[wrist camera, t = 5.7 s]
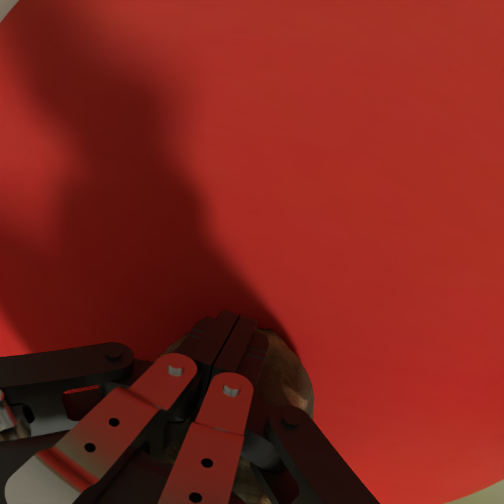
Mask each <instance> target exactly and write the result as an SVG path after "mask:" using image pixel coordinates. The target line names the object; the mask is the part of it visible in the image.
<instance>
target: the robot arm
mask: <svg viewBox="0 0 504 504" xmlns="http://www.w3.org/2000/svg"><path fill="white" fill-rule="evenodd" d="M257 324H258V320H255V319H252V318H249V317H246V316H242V315H241V317H240V315H239V314H236V313H233V312H230V311H226V310H222V312H221V313H220V315H219V316H218V318H217V319H213V318H210V317H206V318H204V319H202V320H200V321H198V322H197V323H196V325H195V326H194V327H193V329H192V330H191V331H190V333H189V335H187V336H186V338H185V339H184V340H183V342H182V343H181V344H180V345H179V347H178V348H177V349H176V351H175V352H174V353H169V354H165V355H163V356H161V357H160V358H158V359H157V361H156V362H149V361H143V360H138V359H134V356H133V352H132V351H131V349H130V348H129V347H127V346H125V345H123V344H121V343H115V342H110V343H103V344H97V345H91V346H84V347H78V348H71V349H64V350H57V351H49V352H41V353H33V354H25V355H16V356H7V357H0V504H246V503H245V502H244V501H243V500H242V499H241V498H240V497H239V496H238V495H237V494H235V493H234V492H232V491H231V490H232V486H233V482H234V478H235V474H236V470H237V466H238V462H239V458H240V456H242V457H244V458H245V459H247V460H248V461H250V463H249V464H250V467H251V469H252V471H253V473H254V475H255V476H256V478H257V480H258V482H259V483H260V485H261V487H262V489H263V490H264V492H265V494H266V495H267V497H268V499H269V500H270V502H271V504H380V503H379V502H378V501H377V500H376V498H375V497H374V496H373V495H372V494H371V492H370V491H369V490H368V489H367V488H366V486H365V485H364V484H363V483H362V482H361V480H360V479H359V478H358V477H357V476H356V474H355V473H354V472H353V471H352V469H351V468H350V467H349V466H348V465H347V463H346V462H345V461H344V460H343V458H342V457H341V456H340V455H339V453H338V452H337V451H336V450H335V448H334V447H333V446H332V444H331V443H330V442H329V441H328V439H327V438H326V437H325V435H324V434H323V433H322V432H321V430H320V429H319V428H318V426H317V425H316V424H315V423H314V421H313V420H312V419H311V417H310V416H309V415H308V414H307V413H306V412H305V411H304V410H302V409H300V408H298V407H296V406H292V405H281V406H278V407H276V408H274V407H272V406H270V405H268V404H267V403H265V402H264V401H263V400H262V399H261V398H260V397H259V395H258V394H257V391H256V384H257V381H258V378H259V375H260V372H261V369H262V366H263V363H264V360H265V357H266V353H267V350H268V347H269V341H268V338H267V335H264V334H260V333H257V332H256V328H257ZM93 385H98V387H99V388H98V389H92V390H87V391H82V392H76V393H70V394H64V392H65V391H67V390H71V389H76V388H82V387H87V386H93ZM195 407H196V408H199V409H200V411H199V413H198V416H197V418H196V420H195V421H193V422H192V423H191V425H190V428H189V430H188V432H187V435H186V437H185V440H184V442H183V444H182V447H181V449H180V452H179V454H178V456H177V459H176V461H175V464H171V463H166V462H163V461H164V459H165V457H166V455H167V453H168V452H169V451H170V449H171V448H172V446H173V445H174V443H175V442H176V440H177V439H178V438H179V436H180V435H181V433H182V432H183V430H184V429H185V427H186V426H187V424H188V423H189V420H190V416H191V415H192V413H193V411H194V409H195Z"/></svg>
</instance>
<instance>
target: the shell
mask: <svg viewBox="0 0 504 504" xmlns="http://www.w3.org/2000/svg"><path fill="white" fill-rule="evenodd" d="M256 332H257V333H260V334H264V335H267V338H268V341H269V347H268V350H267V353H266V357H265V360H264V363H263V366H262V369H261V372H260V375H259V378H258V381H257V384H256V391H257V394H258V395H259V397H260V398H261V399H262V400H263V401H264V402H265V403H267V404H268V405H270V406H272V407H274V408H276V407H278V406H281V405H292V406H296V407H298V408H300V409H302V410H304V411H305V412H306V413H307V414H308V415H309V416H310V417H311V419H312V420H313V405H314V394H313V388H312V384H311V381H310V378H309V376H308V374H307V372H306V370H305V368H304V367H303V365H302V363H301V361H300V359H299V357H298V356H297V355H296V354H295V353H294V352H293V351H291V350H290V349H289V347H288V346H287V345H286V343H285V342H284V341H283V339H282V338H281V337H280V336H279V335H278V334H276V333H275V332H274V331H272V330H270V329H267V330H264V329H258V328H256ZM189 333H190V332H189ZM189 333H187V334H186V335H184V336H183V337H182V338H181V339H179V340H178V341H176V342H174V343H173V344H172V345H171V346H169V347H168V348H167V350H166V351H165V352H163V354H162V355H161V356H163V355H165V354H169V353H174V352H175V351H176V349H177V348H178V347H179V345H180V344H181V343H182V342H183V340H184V339H185V338H186V336H187V335H189ZM161 356H160V357H161ZM160 357H158V358H160ZM158 358H157V359H158ZM157 359H156V360H155V361H154V362H156V361H157ZM199 411H200V409H199V408H196V407H195V409H194V411H193V413H192V415H191V416H190V420H189V423H188V424H187V426H186V427H185V429H184V430H183V432H182V433H181V435H180V436H179V438H178V439H177V440H176V442H175V443H174V445H173V446H172V448H171V449H170V451H169V452H168V453H167V455H166V457H165V459H164V461H163V462H166V463H171V464H175V461H176V459H177V456H178V454H179V452H180V449H181V447H182V444H183V442H184V440H185V437H186V435H187V432H188V430H189V428H190V425H191V423H192V422H193V421H195V420H196V418H197V416H198V413H199ZM249 463H250V461H248V460H247V459H245V458H244V457H242V456H240V458H239V462H238V466H237V470H236V474H235V478H234V482H233V486H232V490H231V491H232V492H234V493H235V494H237V495H238V496H239V497H240V498H241V499H242V500H243V501H244V502H245V503H246V504H271V502H270V500H269V499H268V497H267V495H266V494H265V492H264V490H263V489H262V487H261V485H260V483H259V482H258V480H257V478H256V476H255V475H254V473H253V471H252V469H251V467H250V464H249Z"/></svg>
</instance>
